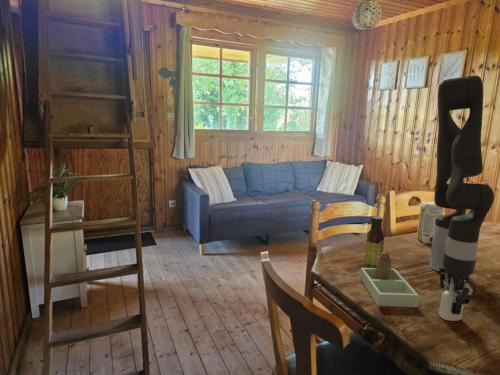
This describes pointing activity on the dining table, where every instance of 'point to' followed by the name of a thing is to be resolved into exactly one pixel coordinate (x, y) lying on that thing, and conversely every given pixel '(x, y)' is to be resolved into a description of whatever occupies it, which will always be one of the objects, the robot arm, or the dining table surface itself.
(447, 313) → the eye dropper bottle
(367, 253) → the sauce bottle
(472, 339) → the dining table surface
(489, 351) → the dining table surface
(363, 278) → the caddy
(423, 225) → the juice carton
